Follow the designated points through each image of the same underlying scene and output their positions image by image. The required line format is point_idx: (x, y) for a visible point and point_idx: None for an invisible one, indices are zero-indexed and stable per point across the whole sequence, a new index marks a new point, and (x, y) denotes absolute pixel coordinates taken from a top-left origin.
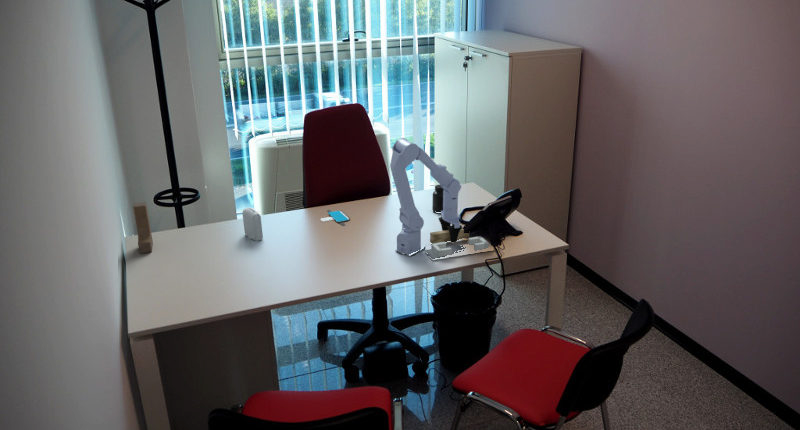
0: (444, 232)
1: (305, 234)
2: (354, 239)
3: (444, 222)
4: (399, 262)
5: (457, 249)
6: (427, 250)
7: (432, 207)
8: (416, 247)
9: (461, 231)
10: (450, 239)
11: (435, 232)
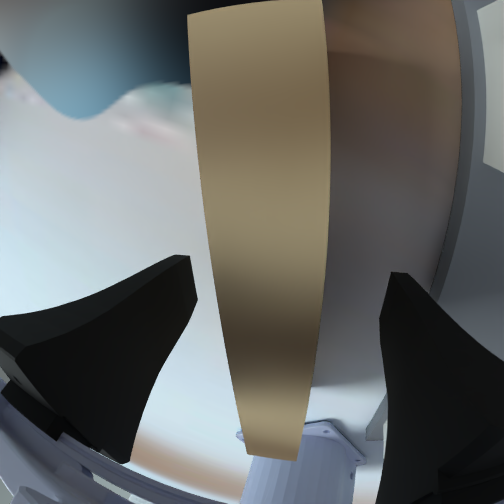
0: (293, 411)
1: (143, 469)
2: (170, 462)
3: (120, 405)
4: (377, 473)
5: (501, 310)
6: (377, 435)
7: None
8: (343, 469)
9: (328, 178)
10: (384, 345)
11: (259, 442)
